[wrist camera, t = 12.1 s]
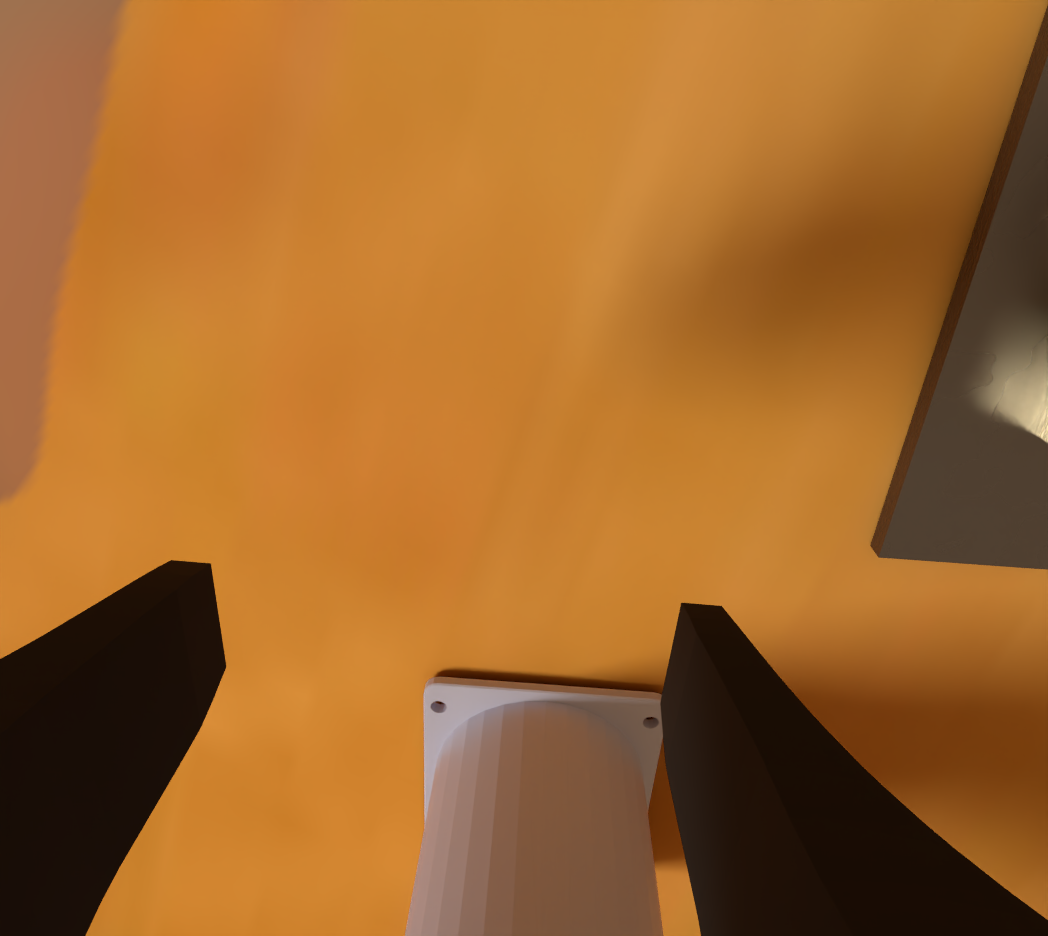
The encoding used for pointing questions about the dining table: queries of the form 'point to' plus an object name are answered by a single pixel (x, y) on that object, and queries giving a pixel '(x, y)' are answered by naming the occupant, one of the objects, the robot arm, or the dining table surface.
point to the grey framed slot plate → (987, 376)
